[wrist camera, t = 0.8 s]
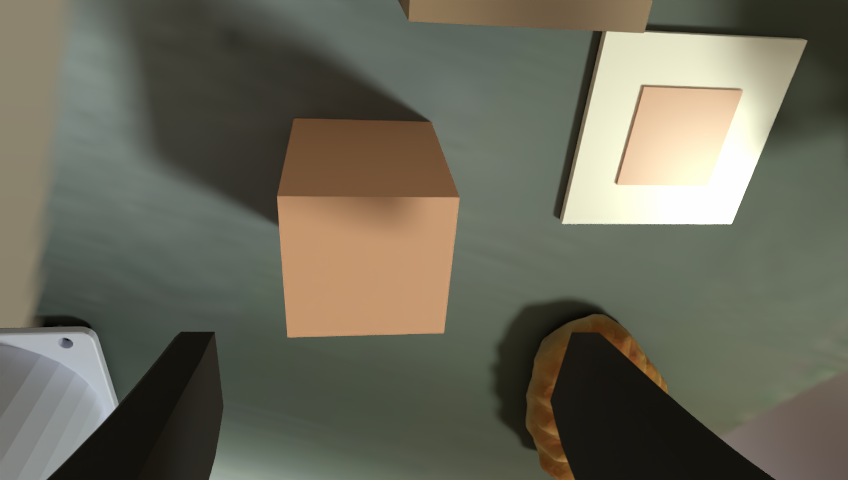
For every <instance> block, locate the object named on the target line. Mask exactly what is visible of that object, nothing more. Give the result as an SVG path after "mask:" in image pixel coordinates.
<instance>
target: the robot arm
mask: <svg viewBox="0 0 848 480" xmlns="http://www.w3.org/2000/svg"><path fill="white" fill-rule="evenodd" d="M64 338H68V339H70V340H71V341H67V340H65V339H64ZM550 402H551V406H552V411H553V415H554V419H555V423H556V427H557V431H558V434H559V438H560V442H561V445H562V448H563V451H564V453H565V456H566V459H567V461H568V464H569V466H570V469H571V471H572V474H573V476H574V479H575V480H775V479H774V478H772V477H771V476H770V475H768V474H767V473H765V472H764V471H763V470H761V469H760V468H758V467H757V466H755V465H754V464H753V463H751V462H750V461H749V460H747V459H746V458H745V457H743V456H742V455H740V454H739V453H738V452H737V451H735V450H734V449H733V448H731V447H730V446H729V445H728V444H726V443H725V442H724V441H723V440H722V439H720V438H719V437H718V436H717V435H715V434H714V433H713V432H712V431H710V430H709V429H708V428H707V427H705V426H704V425H703V424H702V423H700V422H699V421H698V420H697V419H696V418H695V417H693V416H692V415H691V414H690V413H689V412H687V411H686V410H685V409H684V408H683V407H682V406H681V405H679V404H678V403H677V402H676V401H675V400H674V399H673V398H671V397H670V396H669V395H668V394H667V393H666V392H665V391H663V390H662V389H661V388H660V387H659V386H658V385H657V384H656V383H655V382H653V381H652V380H651V379H650V378H649V377H648V376H647V375H646V374H645V373H644V372H643V371H641V370H640V369H639V368H638V367H637V366H636V365H635V364H634V363H633V362H632V361H631V360H629V359H628V358H627V357H626V356H625V355H624V354H623V353H622V352H621V351H620V350H619V349H617V348H616V347H615V346H614V345H613V344H612V343H611V342H610V341H608V340H607V339H606V338H605V337H604V336H603V335H601V334H600V333H599V332H572V333H571V336H570V339H569V342H568V345H567V348H566V352H565V355H564V358H563V361H562V364H561V367H560V371H559V374H558V377H557V380H556V383H555V386H554V390H553V393H552V396H551V399H550ZM222 412H223V399H222V390H221V382H220V373H219V365H218V356H217V348H216V340H215V332H180V333H179V334H178V335H177V336H176V337H175V338H174V339H173V340H172V342H171V343H170V344H169V345H168V347H167V348H166V349H165V351H164V352H163V353H162V354H161V356H160V357H159V358H158V359H157V361H156V362H155V363H154V364H153V365H152V367H151V368H150V369H149V370H148V372H147V373H146V374H145V375H144V376H143V377H142V379H141V380H140V381H139V382H138V383H137V385H136V386H135V387H134V388H133V389H132V390H131V392H130V393H129V394H128V395H127V396H126V397H125V398H124V399H123V401H122V402H121V403H120V404H118V401H117V398H116V394H115V391H114V388H113V385H112V381H111V378H110V375H109V372H108V368H107V365H106V362H105V359H104V356H103V352H102V349H101V346H100V343H99V339H98V336H97V334H96V333H95V332H94V331H93V330H92V329H89V328H87V327H80V326H79V327H36V328H0V480H209V477H210V473H211V470H212V466H213V463H214V459H215V454H216V449H217V443H218V437H219V431H220V425H221V419H222Z"/></svg>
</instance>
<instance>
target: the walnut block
mask: <svg viewBox="0 0 848 480" xmlns="http://www.w3.org/2000/svg"><path fill="white" fill-rule="evenodd" d="M652 1H653V0H399V2H400V5H401V7H402V9H403V11H404V13H405V15H406V17H407V19H408V21H413V22H432V23H452V24H471V25H491V26H511V27H530V28H550V29H569V30H589V31H609V32H628V33H644V32H645V28H646V24H647V20H648V17H649V13H650V9H651V5H652Z"/></svg>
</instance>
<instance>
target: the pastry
mask: <svg viewBox="0 0 848 480" xmlns="http://www.w3.org/2000/svg"><path fill="white" fill-rule="evenodd" d="M572 332H599V333H600V334H601V335H603V336H604V337H605V338H606V339H607V340H608V341H610V342H611V343H612V344H613V345H614V346H615V347H616V348H617V349H619V350H620V351H621V352H622V353H623V354H624V355H625V356H626V357H627V358H628V359H629V360H631V361H632V362H633V363H634V364H635V365H636V366H637V367H638V368H639V369H640V370H641V371H643V372H644V373H645V374H646V375H647V376H648V377H649V378H650V379H651V380H652V381H653V382H655V383H656V384H657V385H658V386H659V387H660V388H661V389H662V390H663V391H665V392H666V393H667V394H668V392H667V385H666V382H665V380H664V379H663V378H662V376H661V375H660V374H659V372H658V370H657V369H656V368H655V366H654V365H653V364H652V363H651V362H650V360H649V359H648V358H647V356H646V355H645V354H644V352H643V351H642V349H641V347H640V345H639V344H638V343H637V342H636V340H635V339H634V338H633V337H632V336H631V334H630V333H629V332H628V331H627V330H626V329H625V328H624V327H623V326H621V325H620V324H618V323H617V322H615V321H613V320H612V319H610V318H609V317H607V316H606V315H603V314H592V315H590V316H587V317H585V318H581V319H577V320H574V321H571V322H569V323H567V324H565V325H563V326H561V327H560V328H558V329H557V330H555V331H554V332H552V333H551V334H549V335H548V336H547V337H545V338H544V339H543V340H542V342H541V345H540V347H539V350H538V352H537V354H536V356H535V358H534V368H533V370H532V378H531V381H530V383H529V387H528V391H527V394H526V400H527V413H526V428H527V430H528V431H529V432H530V434H531V435H532V437H533V439H534V443H535V445H536V448H537V450H538V453H539V462H540V466H541V468H542V469H543V470H544V471H545V472H546V473H548V474H549V475H551V476H552V477H553V478H555V479H557V480H575V479H574V476H573V474H572V471H571V469H570V466H569V464H568V461H567V459H566V456H565V453H564V451H563V448H562V445H561V442H560V438H559V434H558V431H557V427H556V423H555V419H554V415H553V411H552V406H551V402H550V399H551V396H552V393H553V390H554V386H555V383H556V380H557V377H558V374H559V371H560V367H561V364H562V361H563V358H564V355H565V352H566V348H567V345H568V342H569V339H570V336H571V333H572Z"/></svg>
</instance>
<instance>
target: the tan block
mask: <svg viewBox="0 0 848 480" xmlns="http://www.w3.org/2000/svg"><path fill="white" fill-rule="evenodd" d="M459 198H460V197H459V195H458V192H457V189H456V187H455V184H454V181H453V179H452V176H451V173H450V171H449V168H448V165H447V162H446V160H445V157H444V154H443V152H442V149H441V146H440V144H439V141H438V138H437V136H436V133H435V130H434V128H433V125H432V122H419V121H381V120H342V119H304V118H294V120H293V125H292V129H291V134H290V139H289V143H288V148H287V152H286V157H285V162H284V166H283V171H282V176H281V180H280V185H279V189H278V194H277V203H278V216H279V229H280V242H281V256H282V269H283V282H284V295H285V309H286V322H287V335H288V337H316V336H352V335H388V334H425V333H444V327H445V318H446V310H447V301H448V293H449V284H450V275H451V267H452V258H453V250H454V241H455V233H456V224H457V216H458V207H459Z"/></svg>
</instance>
